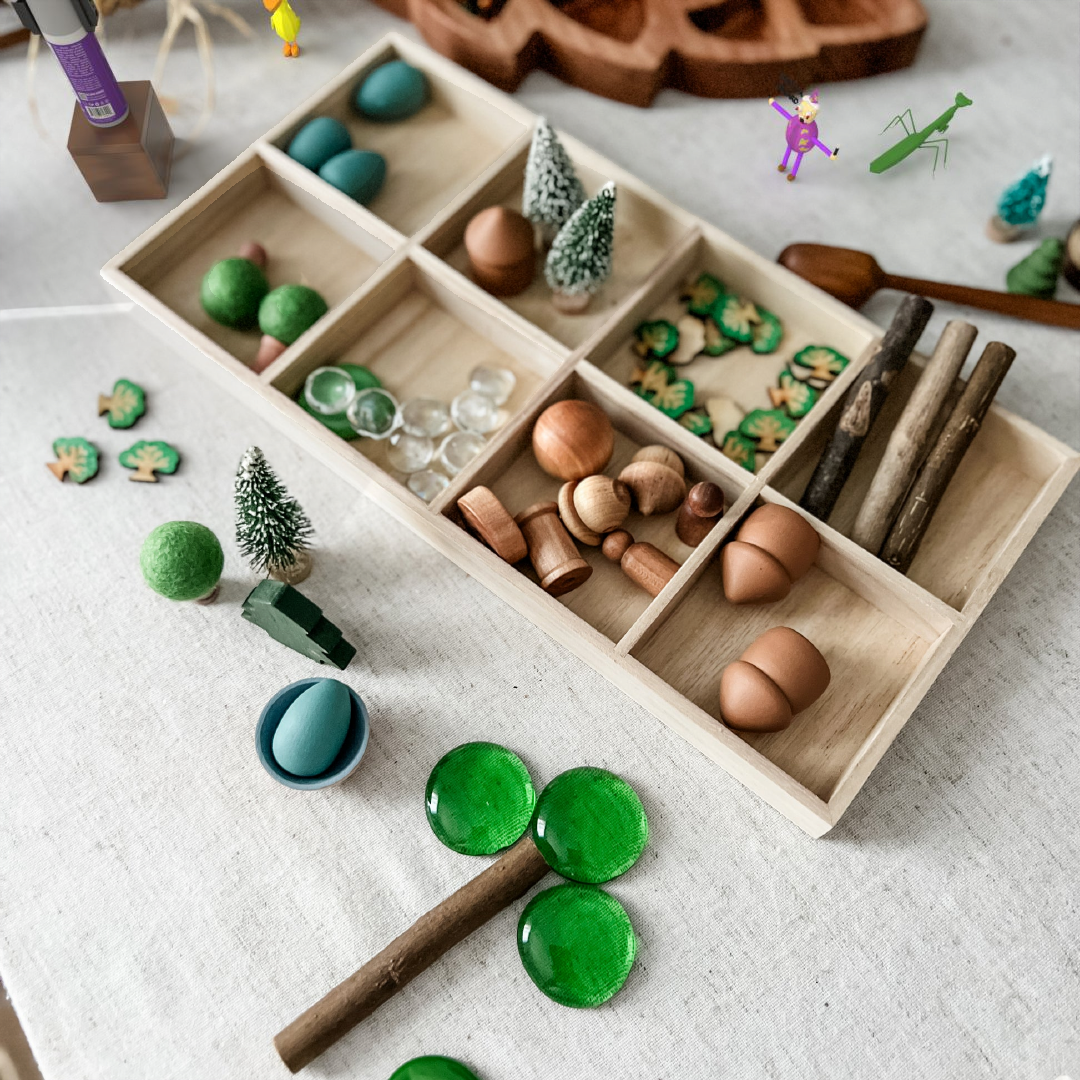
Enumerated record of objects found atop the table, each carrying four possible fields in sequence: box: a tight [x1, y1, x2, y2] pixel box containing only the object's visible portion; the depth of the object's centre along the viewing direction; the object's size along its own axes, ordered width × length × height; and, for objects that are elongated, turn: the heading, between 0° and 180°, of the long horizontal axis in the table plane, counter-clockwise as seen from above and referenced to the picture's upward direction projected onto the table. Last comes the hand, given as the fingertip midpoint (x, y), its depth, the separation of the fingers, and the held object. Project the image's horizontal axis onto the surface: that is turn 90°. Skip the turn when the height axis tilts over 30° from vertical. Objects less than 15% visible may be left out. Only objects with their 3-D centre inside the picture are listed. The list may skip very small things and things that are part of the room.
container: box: [26, 0, 129, 127], centre depth 97 cm, size 5×5×15 cm
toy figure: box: [262, 0, 302, 58], centre depth 114 cm, size 7×4×12 cm, turn 176°
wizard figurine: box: [768, 72, 841, 182], centre depth 106 cm, size 11×3×12 cm, turn 35°
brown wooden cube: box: [66, 79, 175, 203], centre depth 108 cm, size 8×10×8 cm
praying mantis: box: [869, 91, 974, 179], centre depth 111 cm, size 9×15×4 cm, turn 127°
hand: (65, 27), depth 95 cm, fingers closed on container, 4 cm apart
